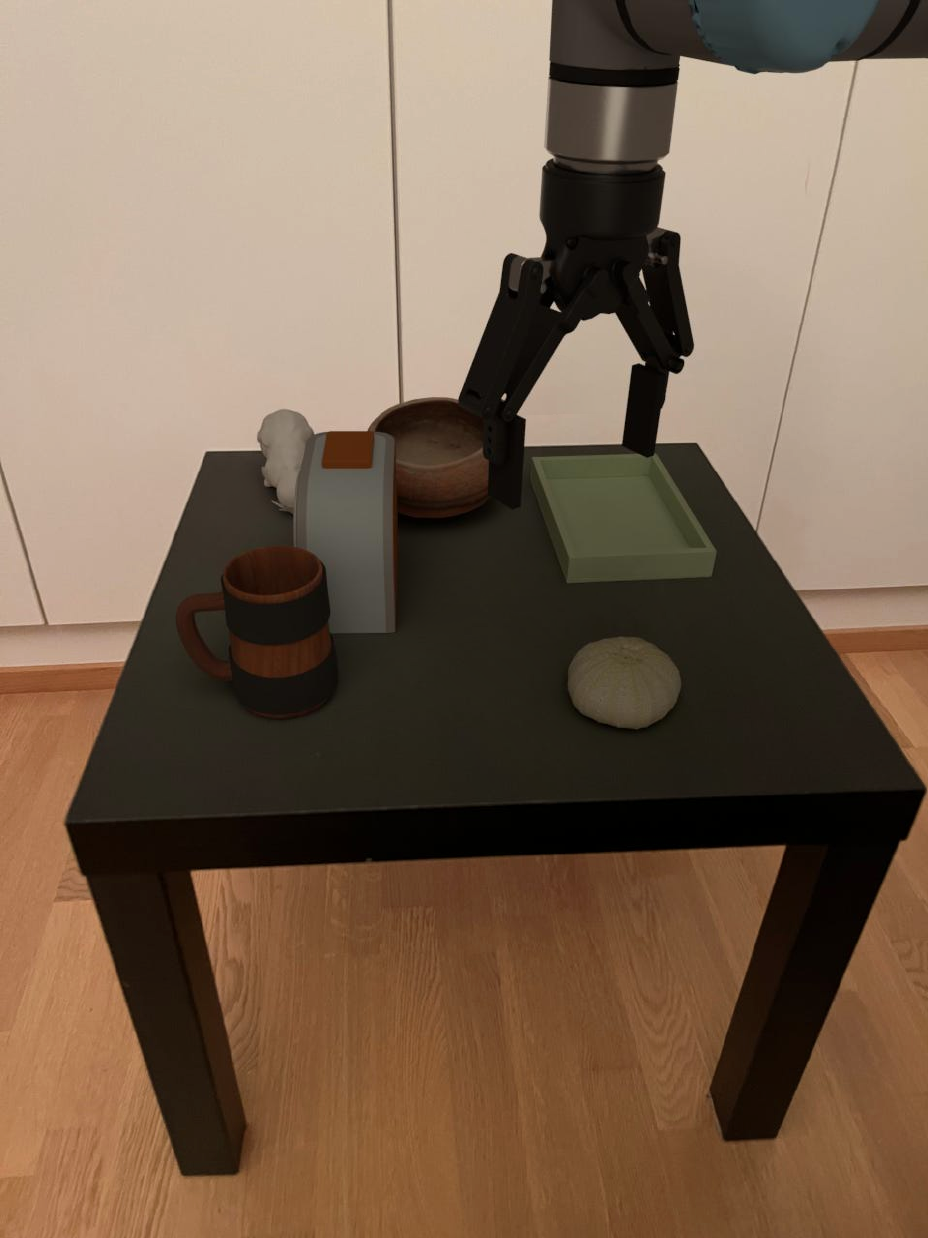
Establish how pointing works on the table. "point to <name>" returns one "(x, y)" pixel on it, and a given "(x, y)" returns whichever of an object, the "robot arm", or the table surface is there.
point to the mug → (269, 631)
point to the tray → (619, 519)
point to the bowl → (436, 457)
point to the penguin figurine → (283, 452)
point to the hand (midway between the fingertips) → (574, 474)
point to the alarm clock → (351, 525)
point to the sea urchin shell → (623, 682)
